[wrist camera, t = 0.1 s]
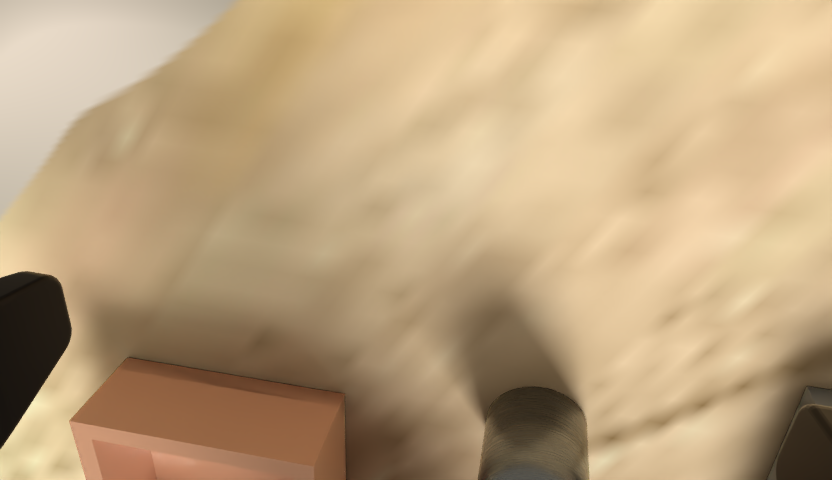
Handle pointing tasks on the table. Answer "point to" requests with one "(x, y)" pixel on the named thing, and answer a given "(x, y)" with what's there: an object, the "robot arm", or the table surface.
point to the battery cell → (534, 437)
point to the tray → (809, 397)
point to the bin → (208, 427)
